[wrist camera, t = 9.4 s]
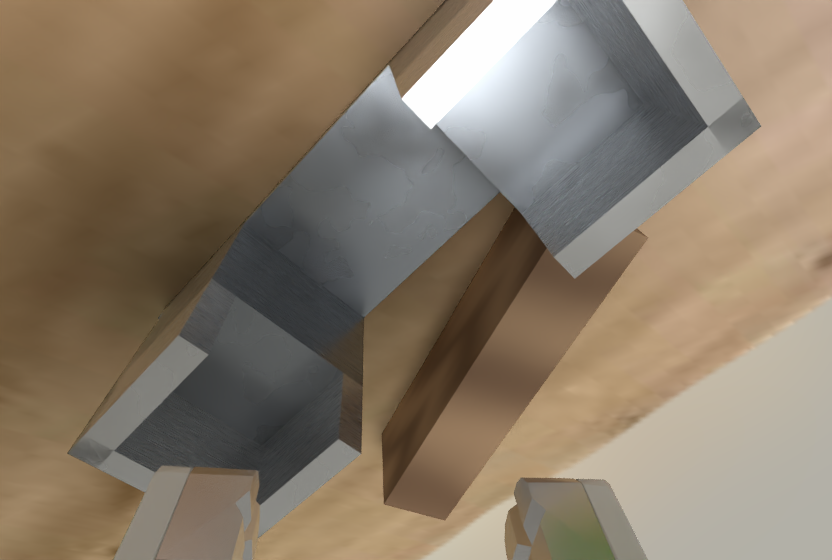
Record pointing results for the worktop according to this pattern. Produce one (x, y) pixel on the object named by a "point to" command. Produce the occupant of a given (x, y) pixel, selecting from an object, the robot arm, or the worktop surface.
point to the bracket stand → (414, 223)
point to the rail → (490, 365)
